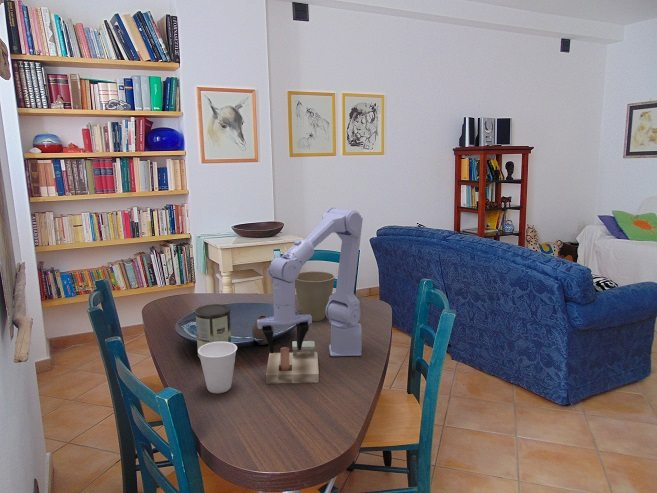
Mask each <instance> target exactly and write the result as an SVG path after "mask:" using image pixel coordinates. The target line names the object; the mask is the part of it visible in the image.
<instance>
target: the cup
mask: <svg viewBox="0 0 657 493" xmlns="http://www.w3.org/2000/svg"><path fill="white" fill-rule="evenodd" d="M237 350H238V346H237V344H235V343H233V342H231V343H230V342H222V341H221V342H212V343H208V344H205V345H203V346H201V347H200V348H199V349H198V348H197V355H198V354H199V356H200V358H199V359H200V363H201V368H202V373H203V375H204V380H205V385H206V389H207V390H208V391H209V392H210V393H212V394H222V393H226V392H228V391H229V390H230V389H231V388H232V383H233V378H234V377H233V376H234V375H233V374H234V369H235V360H236V354H237Z"/></svg>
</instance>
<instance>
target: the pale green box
mask: <svg viewBox="0 0 657 493" xmlns="http://www.w3.org/2000/svg"><path fill="white" fill-rule="evenodd" d="M291 342H292V343H291V344H292V347H291V348H292V353H293V356H297V352H298V348H297V340H294V341H291ZM301 350H309V352H310V356H314V352H315V350H316V345H315V340H306V341H305V340H303V343H302V347H301Z"/></svg>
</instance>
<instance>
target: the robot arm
mask: <svg viewBox="0 0 657 493" xmlns="http://www.w3.org/2000/svg"><path fill="white" fill-rule="evenodd" d="M363 219H364V218H363V217H362V215H361V214H360V212H358V211H357V210H354V209H352V210H349V209H343V208H336V207H329V208H328V209H327V210H326V212H324V213H323V214H322V218H321V220H320V222H319V223H318V224H317V225H316V226H315V227H314V229H313V230H311V232H310V233H309V234H308V235H307V237H306V238H305V239H303V238H300V239H296V240H295V241H294V242H293V244H292V246H290V247H289V249H287V250H286V251H284V252H283V254H282V255H281V257H275V258H274V259H273V260H271V262H270V264H269V266H268V268H267V273H268V275H269V277H270V278H271V283H272V290H273V298H272V299H273V315H272V316H269V317H267V318H264V319H259V320H257V319H256V321H257V327H258V329H262V330H263V332H264V334H265V336H266V339H267V341H268V344H267V345H268V350H269V353H274V344H273V343H274V342H273V340H274V339H273V338H274V334H273V331H272V328H271V327H273V328H274V327H280V326H281V327H282V326H292V325H296V341H297V348H298V349H297V351H301V350H302V349H301V347H302V343H303V341H305V340H304V338H305V337H306V335H307V332H309V328H310V326H309V325H310V324H312V323H313V321H312V316H311V315H310V314H309V315H303V314H296V289H295V279H297V278H298V276H299V273H301V270H302V268H303V266H304V265H305V264H306V263H307V262H308V261H309V260H310V259H311V258H312V256H314V254H315V249H316V247H318V245H320V244H321V243H322V242H323V241H324V240H325V239H326V238H328V237H329V236H330V235H331V234H332V233H334V234H336V235H337V236H338V237H339V238H340V240H341V246H340V254H339V255H340V256H339V262H338V269H337V270H338V272H337V279H336V288H335V292H332V295H330V296H329V301H328V304H327V306H326V310H325V313H326V315H325V318H327V319H328V321H329V323H330V344H328V349H329V350H328V351H329V356H330V357H356V356H357V357H359V356H360V357H361V356H362V345H363V343H362V342H363V341H362V339H363V336H362V335H363V333H362V331H363V330H362V324H361V323H358V322H359V321H360V320H361V315H362V314H361V307H360V306H361V301H360V299H359V298H358V297H357V296H356V295H355V293H354V292H355V284H356V279H357V278H356V276H357V271H358V270H357V268H358V262H359V261H358V260H359V252H360V244H361V239H362V238H361V235H362V230H363V229H362V228H363Z"/></svg>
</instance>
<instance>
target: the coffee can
mask: <svg viewBox="0 0 657 493" xmlns="http://www.w3.org/2000/svg"><path fill="white" fill-rule="evenodd" d="M194 315H195V328H196V344H197V350H198V349H199V348H200V347H201V346H203V345H205V344H208V343H212V342H221V341H222V342H230V343H232V333H231V332H232V330H231V308H230V306H229V305H225V304H221V303H220V304H218V303H216V304H213V303H212V304H207V305H202V306H199V307H197V308H195V310H194ZM197 357H198V358H199V359H200V356H199V354H198V353H197Z"/></svg>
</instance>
